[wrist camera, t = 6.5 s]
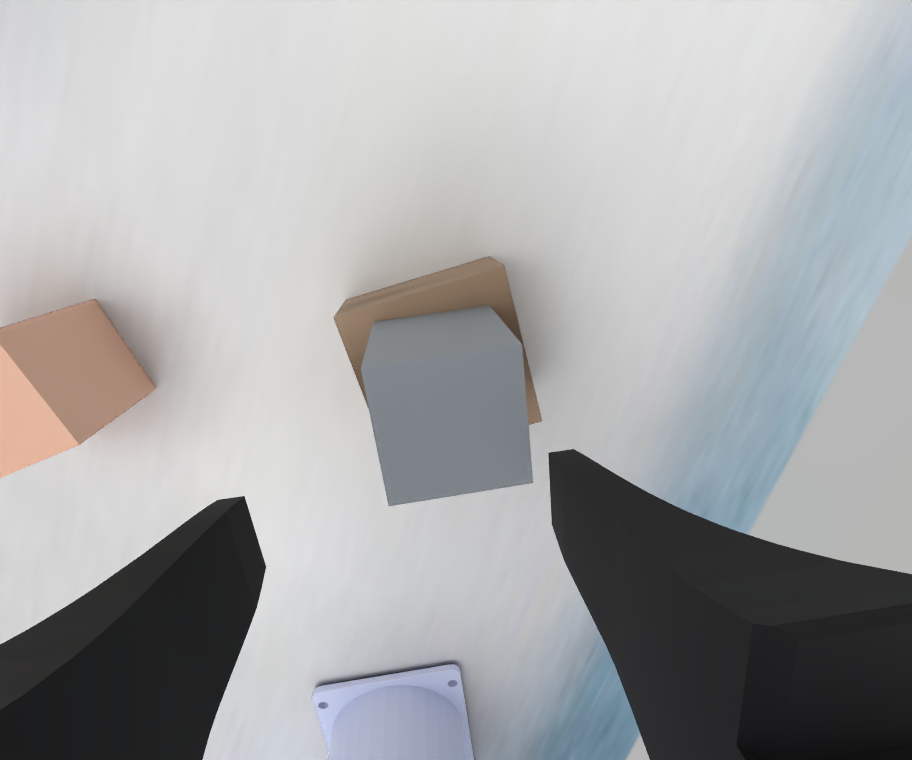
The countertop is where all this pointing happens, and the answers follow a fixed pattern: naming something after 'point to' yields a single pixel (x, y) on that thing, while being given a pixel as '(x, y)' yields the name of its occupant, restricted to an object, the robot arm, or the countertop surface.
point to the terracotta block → (62, 382)
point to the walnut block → (433, 310)
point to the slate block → (447, 404)
